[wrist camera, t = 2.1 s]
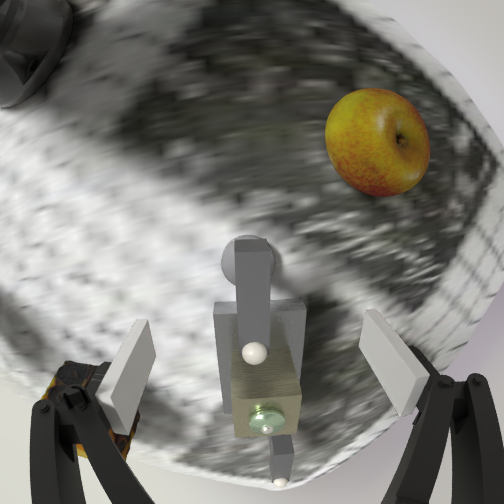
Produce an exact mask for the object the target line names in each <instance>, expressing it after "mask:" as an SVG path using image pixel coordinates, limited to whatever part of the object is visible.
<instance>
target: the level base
mask: <svg viewBox="0 0 504 504" xmlns="http://www.w3.org/2000/svg"><path fill="white" fill-rule="evenodd" d="M306 312H307V309H306V307H305V305H304V303H303V300H302V298H301V299H284V300H270V355H267V356H266V358H265V360H264V361H263V362H262V363H260V364H257V365H252V364H249V363H247V362H246V361H245V360H244V359H243V357H239V341H238V322H237V302H215V304H214V311H213V318H214V328H215V338H216V347H217V357H218V365H219V374H220V382H221V390H222V398H223V406H224V413H225V414H233V421H234V430H235V437H257V436H272V435H283V434H293V433H297V427H298V420H299V414H300V407H301V400H302V392H301V388H300V385H299V384H300V375H301V366H302V357H303V346H304V336H305V324H306Z"/></svg>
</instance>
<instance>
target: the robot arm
mask: <svg viewBox="0 0 504 504" xmlns="http://www.w3.org/2000/svg"><path fill="white" fill-rule="evenodd" d="M72 26H73V11H72V8H71V6H70V4H69V3H68V2H67V1H66V0H0V107H5V108H6V107H12V106H15V105H17V104H19V103H21V102H23V101H24V100H26V99H27V98H28V97H30V96H31V95H32V94H33V93H34V92H35V91H36V90H37V89H38V88H39V87H40V86H41V85H42V84H43V83H44V82H45V80H46V79H47V78H48V77H49V75H50V74H51V73H52V71H53V70H54V68H55V67H56V65H57V63H58V62H59V60H60V58H61V56H62V54H63V52H64V50H65V48H66V46H67V44H68V41H69V38H70V35H71V31H72ZM359 348H360V350H361V351H362V353H363V355H364V356H365V358H366V360H367V361H368V363H369V365H370V366H371V368H372V370H373V371H374V373H375V375H376V377H377V378H378V380H379V382H380V383H381V385H382V387H383V389H384V390H385V392H386V394H387V396H388V397H389V399H390V401H391V403H392V404H393V406H394V408H395V410H396V412H397V413H398V415H399V417H404V416H407V415H410V414H412V413H413V411H414V409H415V407H417V408H418V410H419V412H418V414H417V416H416V418H415V420H414V422H413V425H414V426H413V429H412V432H411V435H410V438H409V440H408V443H407V446H406V448H405V451H404V454H403V456H402V459H401V461H400V464H399V466H398V468H397V471H396V473H395V475H394V478H393V480H392V482H391V484H390V486H389V488H388V490H387V492H386V494H385V497H384V498H383V500H382V502H381V504H429V500H430V497H431V494H432V491H433V488H434V485H435V482H436V479H437V476H438V472H439V469H440V465H441V462H442V458H443V454H444V450H445V446H446V442H447V437H448V432H449V427H450V431H451V444H452V445H451V446H452V502H451V504H504V447H503V442H502V436H501V432H500V426H499V422H498V418H497V414H496V410H495V406H494V402H493V398H492V395H491V392H490V388H489V385H488V381H487V379H486V378H485V377H484V376H483V375H480V374H477V373H473V374H470V375H469V376H468V378H467V380H466V381H465V382H464V381H463V382H455V381H454V379H452V378H451V377H449V376H447V375H440V374H439V373H438V371H437V370H436V369H435V368H434V367H433V365H432V364H431V363H430V362H429V361H428V359H427V358H426V357H425V356H424V355H423V353H422V352H421V351H420V350H419V349H417V348H416V347H414V346H413V345H412V346H407V345H406V344H405V343H404V342H403V340H402V339H401V338H400V337H399V336H398V334H397V333H396V332H395V331H394V330H393V328H392V327H391V326H390V325H389V324H388V322H387V321H386V320H385V319H384V318H383V317H382V315H381V314H380V313H379V312H378V311H377V309H371V310H365V315H364V321H363V326H362V332H361V337H360V342H359ZM155 358H156V354H155V350H154V345H153V341H152V337H151V332H150V328H149V323H148V320H143V319H136V320H135V322H134V324H133V326H132V327H131V329H130V331H129V333H128V334H127V336H126V338H125V340H124V341H123V343H122V345H121V347H120V349H119V350H118V352H117V354H116V356H115V358H114V360H113V361H112V362H104V363H102V364H101V365H100V366H99V367H98V368H97V370H96V371H95V373H94V375H93V377H92V378H91V379H92V380H90V382H89V384H88V386H87V387H86V388H85V387H84V386H82V385H80V384H72V385H69V386H67V387H65V388H64V389H63V391H62V393H61V398H62V400H63V402H64V404H65V405H66V406H55V405H54V403H53V402H52V401H51V400H49V399H42V400H39V401H37V402H36V403H35V404H34V405H33V408H32V416H31V430H30V482H31V483H30V484H31V497H32V504H86V501H85V497H84V492H83V486H82V481H81V475H80V469H79V464H78V455H77V447H76V444H82V446H83V449H84V451H85V453H86V455H87V457H88V459H89V462H90V464H91V466H92V467H93V470H94V472H95V473H96V476H97V478H98V479H99V481H100V483H101V485H102V487H103V489H104V490H105V492H106V494H107V496H108V497H109V499H110V501H111V502H112V504H155V503H154V501H153V500H152V499H151V498H150V496H149V495H148V494H147V492H146V491H145V489H144V488H143V486H142V485H141V484H140V482H139V481H138V479H137V478H136V477H135V475H134V473H133V472H132V470H131V469H130V467H129V466H128V464H127V463H126V461H125V459H124V458H123V456H122V455H121V453H120V451H119V450H118V448H117V446H116V444H115V443H114V441H113V439H112V437H111V436H110V434H109V430H110V427H112V429H113V431H114V433H117V434H123V435H129V433H130V430H131V427H132V424H133V421H134V418H135V415H136V412H137V409H138V406H139V403H140V400H141V397H142V394H143V391H144V388H145V385H146V383H147V380H148V377H149V374H150V371H151V369H152V366H153V363H154V360H155Z"/></svg>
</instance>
